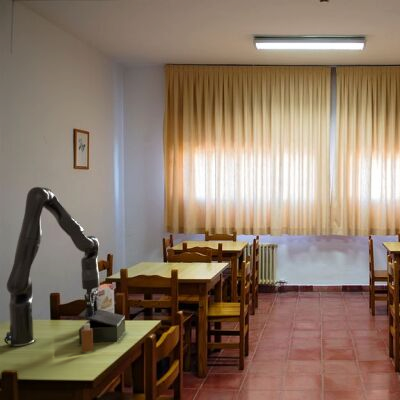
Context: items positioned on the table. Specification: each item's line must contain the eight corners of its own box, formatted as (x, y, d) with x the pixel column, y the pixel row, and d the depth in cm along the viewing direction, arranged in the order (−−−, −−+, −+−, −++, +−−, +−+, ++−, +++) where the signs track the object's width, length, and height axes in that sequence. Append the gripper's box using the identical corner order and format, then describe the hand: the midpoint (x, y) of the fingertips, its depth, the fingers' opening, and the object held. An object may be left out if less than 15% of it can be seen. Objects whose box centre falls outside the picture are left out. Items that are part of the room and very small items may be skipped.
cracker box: (99, 330, 255) (97, 289, 254) (88, 329, 256) (87, 289, 255) (115, 322, 269) (114, 283, 268) (105, 321, 270) (104, 283, 269)
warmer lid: (77, 316, 230) (81, 306, 230) (88, 308, 246) (91, 298, 246) (116, 326, 233) (119, 316, 233) (124, 317, 249) (127, 307, 249)
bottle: (82, 354, 220) (81, 326, 219) (81, 351, 224) (80, 323, 223) (93, 352, 222) (92, 324, 222) (92, 349, 226) (91, 322, 226)
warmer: (79, 346, 231) (78, 329, 230) (89, 335, 246) (89, 319, 246) (117, 343, 233) (116, 326, 233) (125, 333, 249) (124, 317, 249)
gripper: (86, 275, 244) (89, 309, 245) (77, 281, 230) (79, 317, 231) (102, 274, 245) (105, 308, 246) (94, 280, 231) (97, 316, 232)
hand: (93, 312), depth 239 cm, fingers closed on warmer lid, 6 cm apart
